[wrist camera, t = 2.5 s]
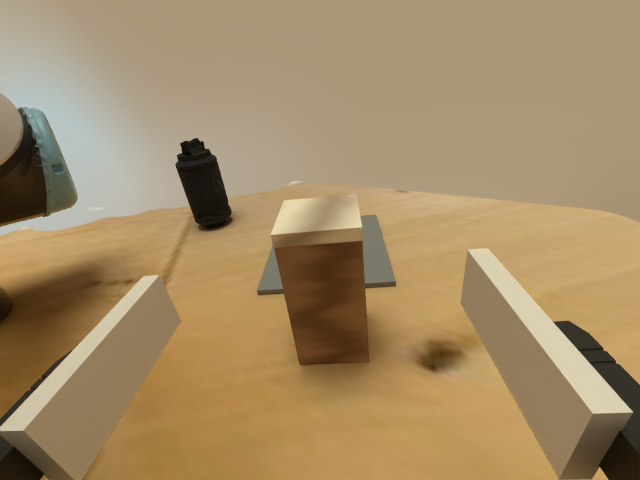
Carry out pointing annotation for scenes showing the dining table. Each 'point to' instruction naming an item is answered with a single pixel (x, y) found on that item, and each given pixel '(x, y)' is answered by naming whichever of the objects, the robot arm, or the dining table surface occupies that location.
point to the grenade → (203, 184)
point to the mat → (373, 254)
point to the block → (323, 277)
